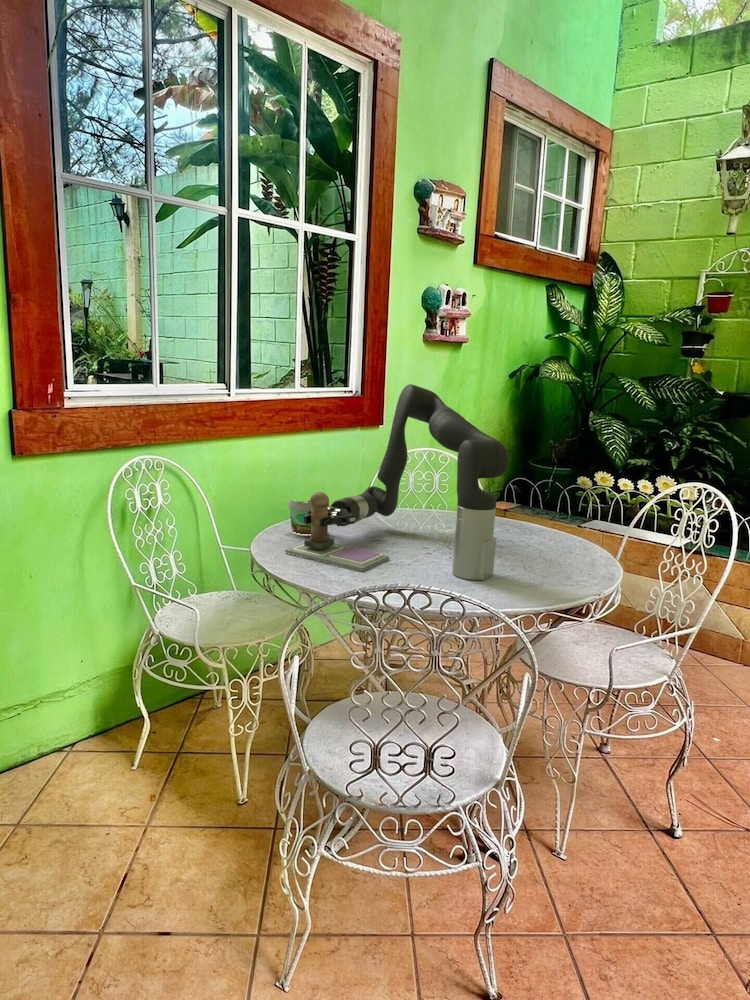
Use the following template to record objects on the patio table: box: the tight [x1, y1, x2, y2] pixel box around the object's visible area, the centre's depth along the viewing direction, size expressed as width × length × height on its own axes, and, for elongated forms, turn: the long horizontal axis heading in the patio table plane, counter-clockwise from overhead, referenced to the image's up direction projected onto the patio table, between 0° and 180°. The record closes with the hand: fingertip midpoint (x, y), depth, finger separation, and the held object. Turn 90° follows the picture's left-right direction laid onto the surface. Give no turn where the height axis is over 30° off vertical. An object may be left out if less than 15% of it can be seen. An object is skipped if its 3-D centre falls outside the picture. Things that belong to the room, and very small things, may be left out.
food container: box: [286, 498, 330, 534], centre depth 187 cm, size 12×6×10 cm, turn 92°
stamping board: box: [284, 543, 390, 572], centre depth 168 cm, size 24×13×2 cm, turn 58°
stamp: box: [304, 491, 335, 550], centre depth 169 cm, size 6×6×14 cm
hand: (313, 521), depth 167 cm, fingers closed on stamp, 4 cm apart
